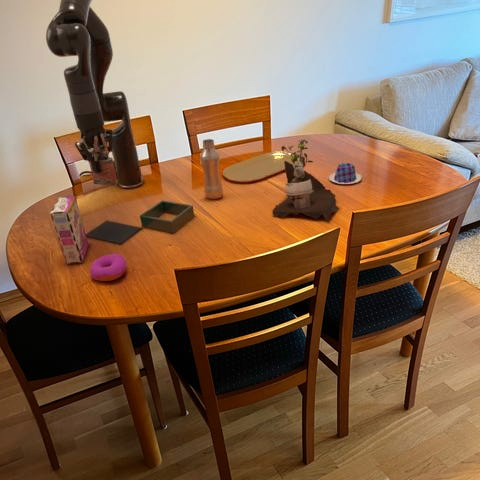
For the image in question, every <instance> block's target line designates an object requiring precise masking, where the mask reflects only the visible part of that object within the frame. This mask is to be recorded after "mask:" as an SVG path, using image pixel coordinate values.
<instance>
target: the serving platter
mask: <svg viewBox="0 0 480 480" xmlns="http://www.w3.org/2000/svg"><path fill="white" fill-rule="evenodd" d="M287 153H288V151H272V152H271V151H270V152H266V153H263V154H260V155H257V156H254V157H251V158H249V159H246V160H242V161H240V162H237V163H234V164H231V165H229V166H227V167H225V168H224V169H223V171H222V175H223V177H224V178H225V179H226V180H228V181H230V182H233V183H238V184H239V183H240V184H247V183H255V182H258V181H262V180H264V179H266V178H269V177H272V176H274V175H277V174H280V173H282V172H286V171H285V164H284V161H287V162H289V163H290V164H293V162H292V161H291V158H292V157H291V153H288V154H287ZM293 157H294V155H293ZM299 161H300V158H297V161H295V164H298V162H299ZM293 165H294V164H293Z"/></svg>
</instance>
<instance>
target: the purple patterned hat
mask: <svg viewBox="0 0 480 480" xmlns="http://www.w3.org/2000/svg"><path fill="white" fill-rule="evenodd" d="M362 178H363V177H362V175H361V174H359V173H358V172H356V167H355V165H354V164H353V163H349V162H342V163H339V164H338V165H337V167H336V171H335V172H333V173H330V174H329V176H328V180H329V181H331V182H333V183H335V184H339V185H349V184H355V183H358V182H360V181H361V180H362Z"/></svg>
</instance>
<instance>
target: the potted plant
mask: <svg viewBox="0 0 480 480" xmlns="http://www.w3.org/2000/svg"><path fill="white" fill-rule="evenodd" d="M298 142H299V143H298V145H297V149H298V150H297V151H294V152H293V151H292V148H294V145H291V146H287V147H286V146H285V145H283V146H281V148H280V149H281V152H285V151H286V152H288V153H291V157H292V158H291V161H292V162H293V164H294V165H293V164H290V163H289V162H287V161H284V164H285V171H284V172H285V176H286V179H287V180H286V182H285V196H286V197H287V198H285V200H283V201H282V202H279V203H278V204H275V206H274V207H273V209H272V215H273V216H278V217H280V218H281V219H284V218H285V217H286V216H289V215H290V214H292V215H294V216H297V215H299V214H302V215H303V214H304V215H306V216H308V217H310V218H313V219H315V220H318V219H319V218H320V217H321V216H323V217H324V218H325V219H326V220H327V221H331V215H332V213H335V212H337V211H338V210H339V207H338V206H337V202H336V201H337V200H336V194H334V193H333V192H332V190H330V189H327V188H326V186H324V184H323V183H321V181H319V180H318V179H317V178H315V176H314V175H312V173H309V172H307V171H306V170H305V169H304V168H306V166H307V164H306V163H314V161H313V160H309V159H308V154H307V153H306V152H304V153H303V151H304V150H308V147H306V144H308V143H309V140H307V139H305V138H304V139H298ZM288 153H287V154H288ZM293 155H294V157H293ZM297 158H300V161H299V162H298V164H295V161H297Z"/></svg>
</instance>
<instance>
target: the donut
mask: <svg viewBox="0 0 480 480" xmlns="http://www.w3.org/2000/svg"><path fill="white" fill-rule="evenodd" d="M127 264H128V262H127V260H126V258H125V257H124V256H123V255H121V254H119V253H110V254H105V255H102V256H100V257H98V258H97V259H95V260H94V261H93V262H92V263H91V265H90V269H89V273H90V276H91V277H92V279H94V280H96V281H100V282H109V281H114V280H117V279H118V278H120V277H122V276H123V275H125V272H126V270H127Z"/></svg>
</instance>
